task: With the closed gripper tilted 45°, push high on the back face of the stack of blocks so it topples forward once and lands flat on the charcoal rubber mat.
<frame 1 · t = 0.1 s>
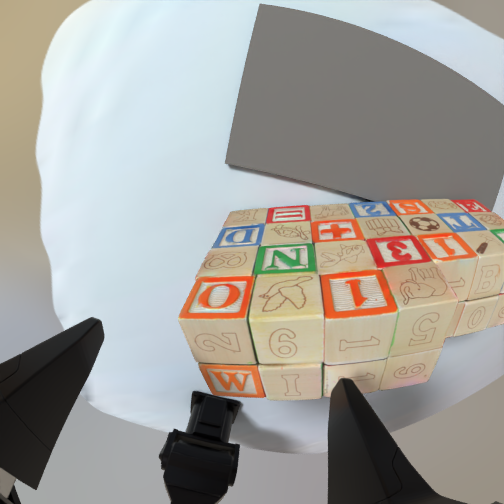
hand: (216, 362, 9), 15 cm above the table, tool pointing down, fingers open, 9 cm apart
stack of blocks: (365, 235, 22), on the table, touching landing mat
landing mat: (399, 123, 17), on the table
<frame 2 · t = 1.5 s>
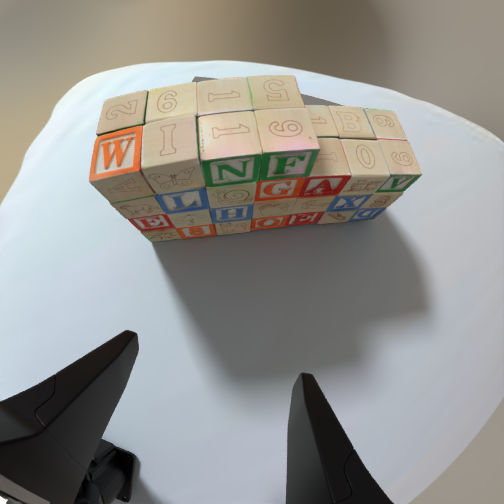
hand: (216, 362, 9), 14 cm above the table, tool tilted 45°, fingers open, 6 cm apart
stack of blocks: (262, 199, 26), on the table, touching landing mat
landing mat: (279, 128, 29), on the table
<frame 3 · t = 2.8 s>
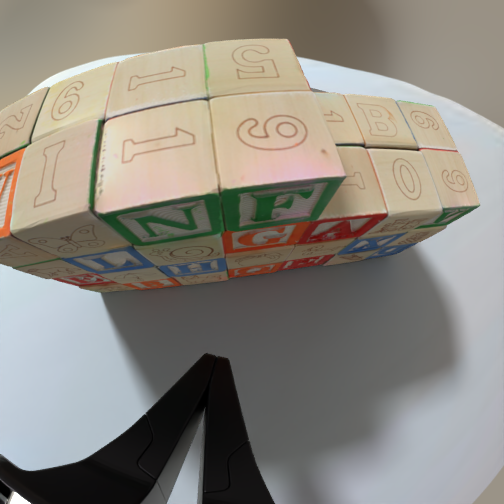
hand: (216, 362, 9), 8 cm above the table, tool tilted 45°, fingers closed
stack of blocks: (245, 231, 19), on the table, touching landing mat
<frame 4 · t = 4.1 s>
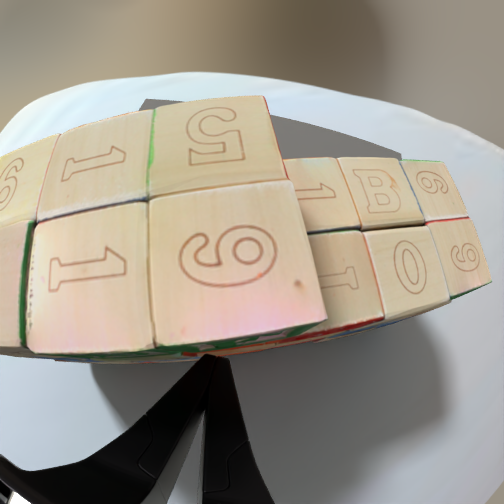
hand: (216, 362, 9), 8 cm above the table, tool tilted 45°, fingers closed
stack of blocks: (229, 305, 17), point 1 cm above the table, touching gripper, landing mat
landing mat: (259, 178, 21), on the table
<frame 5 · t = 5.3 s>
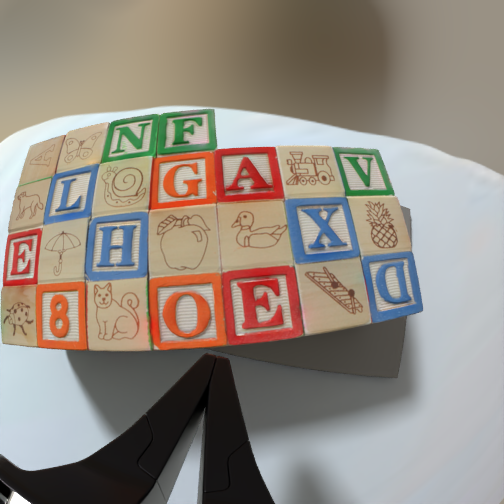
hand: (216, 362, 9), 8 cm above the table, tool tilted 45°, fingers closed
stack of blocks: (199, 353, 13), point 4 cm above the table, touching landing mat
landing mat: (245, 253, 19), on the table
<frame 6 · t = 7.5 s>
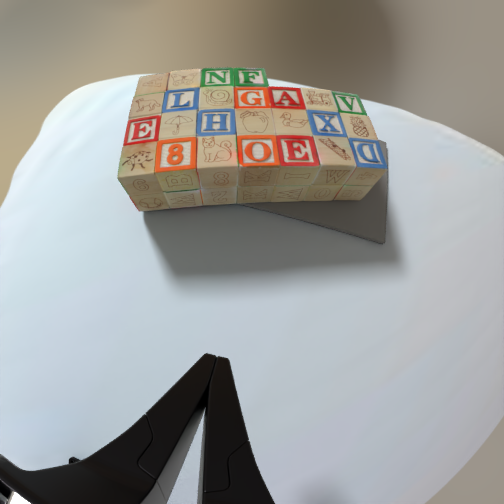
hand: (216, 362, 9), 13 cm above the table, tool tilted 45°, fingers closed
stack of blocks: (256, 189, 22), point 4 cm above the table, touching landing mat
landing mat: (278, 155, 28), on the table
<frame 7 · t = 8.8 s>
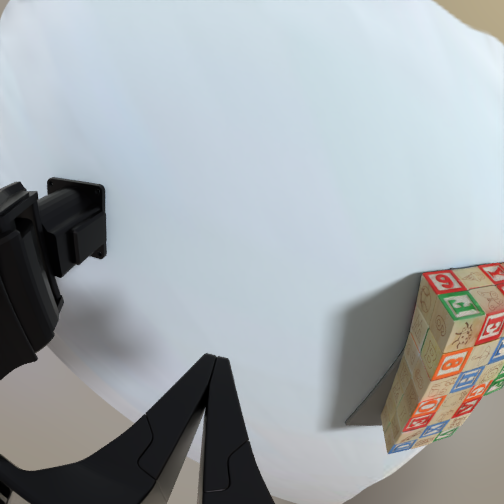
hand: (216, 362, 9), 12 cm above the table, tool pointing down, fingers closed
stack of blocks: (404, 385, 21), point 4 cm above the table, touching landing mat
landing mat: (435, 368, 25), on the table
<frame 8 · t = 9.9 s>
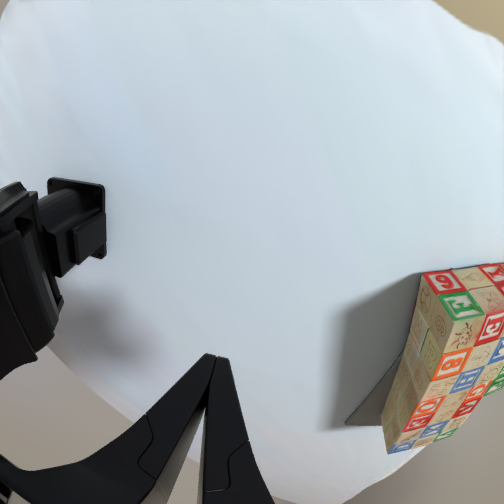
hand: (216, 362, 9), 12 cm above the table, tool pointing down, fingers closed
stack of blocks: (404, 386, 21), point 4 cm above the table, touching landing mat
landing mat: (435, 368, 25), on the table
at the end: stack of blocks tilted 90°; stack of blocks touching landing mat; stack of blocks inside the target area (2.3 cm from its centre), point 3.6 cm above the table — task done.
